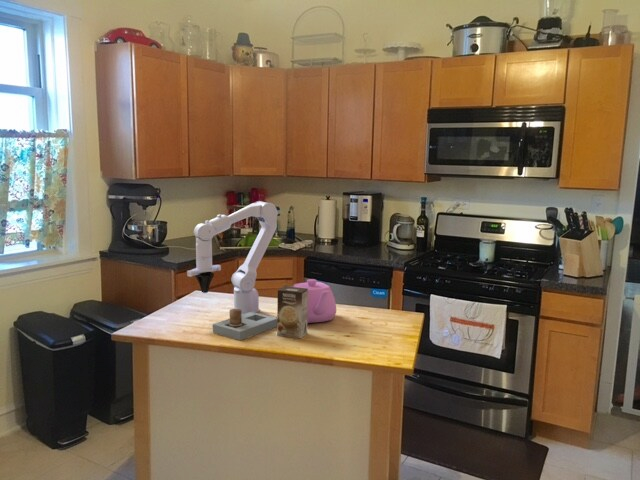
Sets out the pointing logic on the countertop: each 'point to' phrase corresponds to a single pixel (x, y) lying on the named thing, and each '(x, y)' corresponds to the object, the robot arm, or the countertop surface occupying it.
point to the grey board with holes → (246, 326)
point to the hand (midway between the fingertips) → (204, 292)
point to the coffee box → (292, 311)
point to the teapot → (319, 301)
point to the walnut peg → (235, 318)
